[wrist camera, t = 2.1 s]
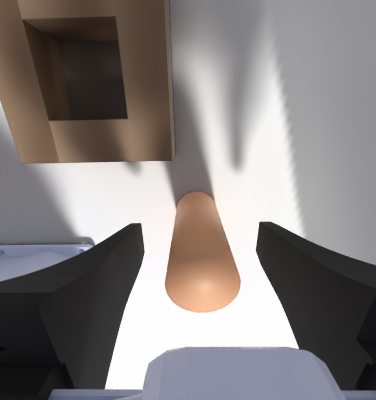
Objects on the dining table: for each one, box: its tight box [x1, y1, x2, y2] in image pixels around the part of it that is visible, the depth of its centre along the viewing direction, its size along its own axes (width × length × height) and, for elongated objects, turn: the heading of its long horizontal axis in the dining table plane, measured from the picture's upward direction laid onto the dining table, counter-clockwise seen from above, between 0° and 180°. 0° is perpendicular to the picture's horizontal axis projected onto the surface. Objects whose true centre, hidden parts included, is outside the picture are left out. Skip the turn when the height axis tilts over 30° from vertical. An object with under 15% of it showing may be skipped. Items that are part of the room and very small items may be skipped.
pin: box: [165, 191, 241, 312], centre depth 12 cm, size 3×3×8 cm
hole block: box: [0, 0, 176, 164], centre depth 11 cm, size 9×9×3 cm
